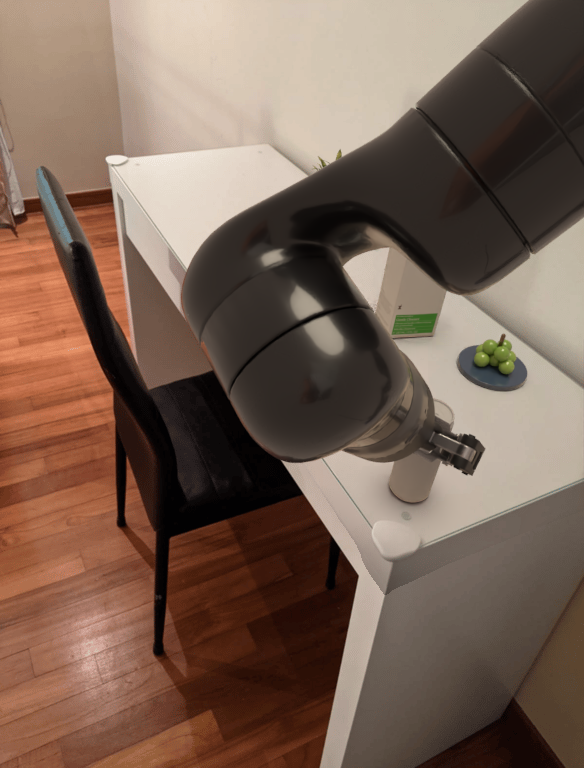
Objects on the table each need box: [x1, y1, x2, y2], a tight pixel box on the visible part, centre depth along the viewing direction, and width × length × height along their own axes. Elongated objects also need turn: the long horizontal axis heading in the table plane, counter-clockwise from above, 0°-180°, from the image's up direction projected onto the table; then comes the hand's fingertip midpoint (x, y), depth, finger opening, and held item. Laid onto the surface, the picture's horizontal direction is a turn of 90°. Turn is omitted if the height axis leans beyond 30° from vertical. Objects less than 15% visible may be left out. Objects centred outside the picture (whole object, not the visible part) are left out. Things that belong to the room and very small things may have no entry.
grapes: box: [456, 333, 528, 392], centre depth 88 cm, size 10×10×6 cm
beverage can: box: [388, 397, 455, 503], centre depth 67 cm, size 5×5×12 cm
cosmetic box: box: [374, 248, 448, 339], centre depth 92 cm, size 8×7×16 cm
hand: (407, 431), depth 56 cm, fingers open, 8 cm apart
